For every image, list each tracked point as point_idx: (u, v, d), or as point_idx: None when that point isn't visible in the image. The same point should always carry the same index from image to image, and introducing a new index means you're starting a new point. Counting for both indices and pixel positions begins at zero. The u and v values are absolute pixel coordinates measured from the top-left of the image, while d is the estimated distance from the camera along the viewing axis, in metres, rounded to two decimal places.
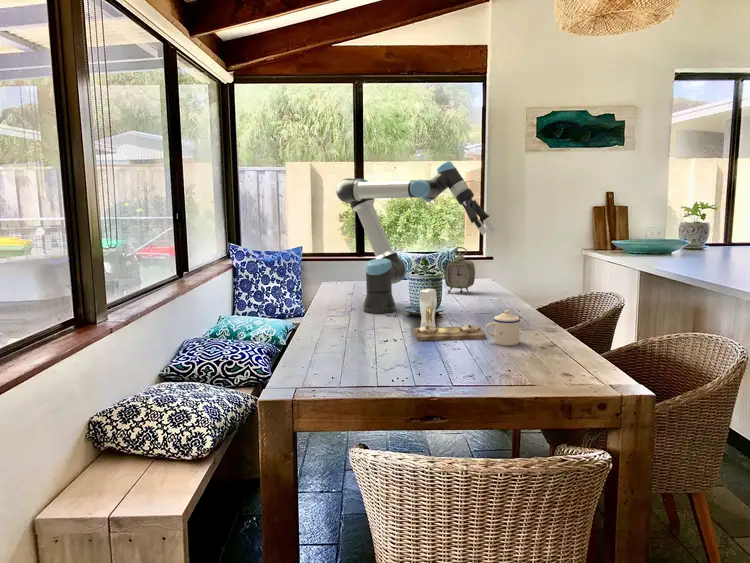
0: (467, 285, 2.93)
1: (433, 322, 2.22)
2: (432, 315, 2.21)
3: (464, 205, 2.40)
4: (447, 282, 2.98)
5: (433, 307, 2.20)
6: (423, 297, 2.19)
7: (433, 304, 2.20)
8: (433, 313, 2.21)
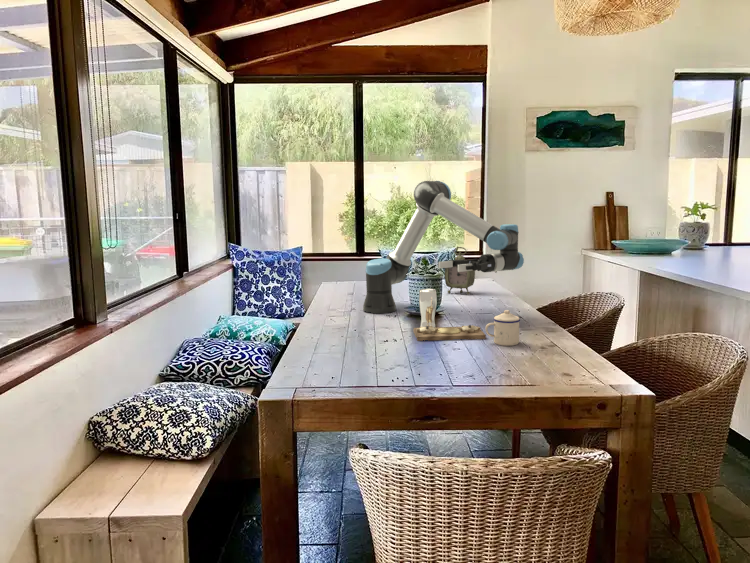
0: (467, 285, 2.93)
1: (433, 322, 2.22)
2: (432, 315, 2.21)
3: (488, 264, 2.25)
4: (447, 282, 2.98)
5: (433, 307, 2.20)
6: (423, 297, 2.19)
7: (433, 304, 2.20)
8: (433, 313, 2.21)
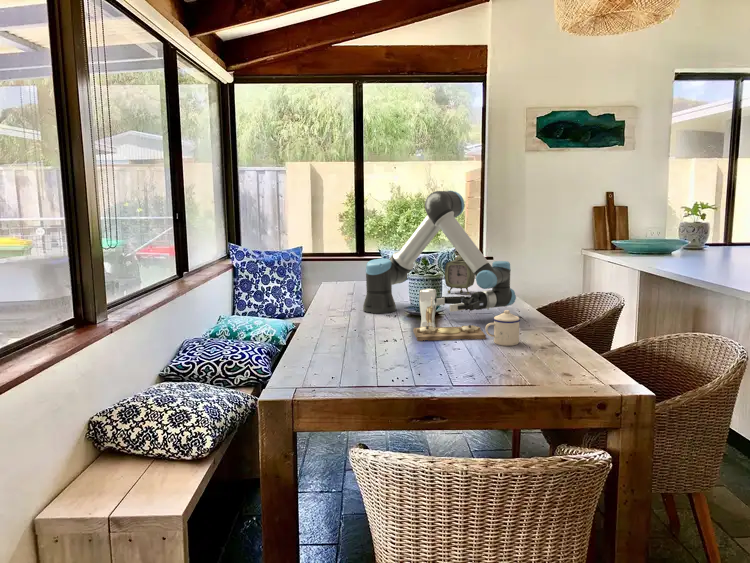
0: (467, 285, 2.93)
1: (433, 322, 2.22)
2: (432, 315, 2.21)
3: (480, 303, 2.25)
4: (447, 282, 2.98)
5: (433, 307, 2.20)
6: (423, 297, 2.19)
7: (433, 304, 2.20)
8: (433, 313, 2.21)
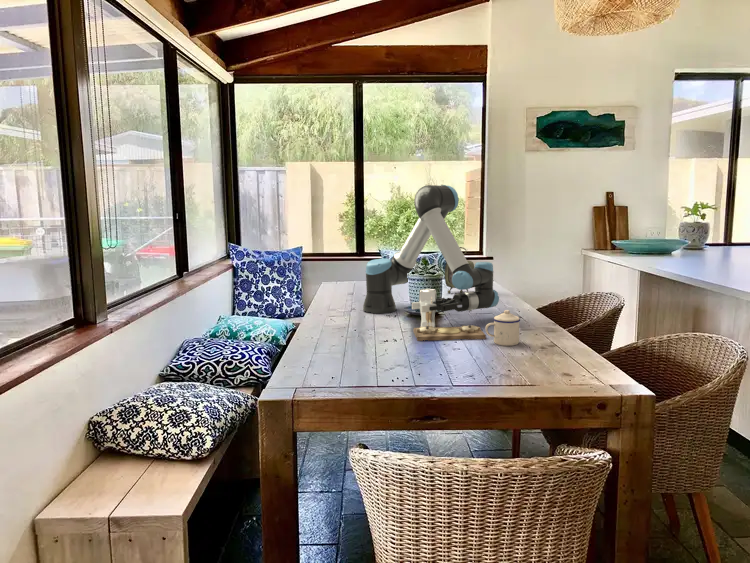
0: None
1: (433, 322, 2.22)
2: (432, 315, 2.21)
3: (458, 304, 2.21)
4: (447, 282, 2.98)
5: None
6: (423, 297, 2.19)
7: None
8: (433, 313, 2.21)
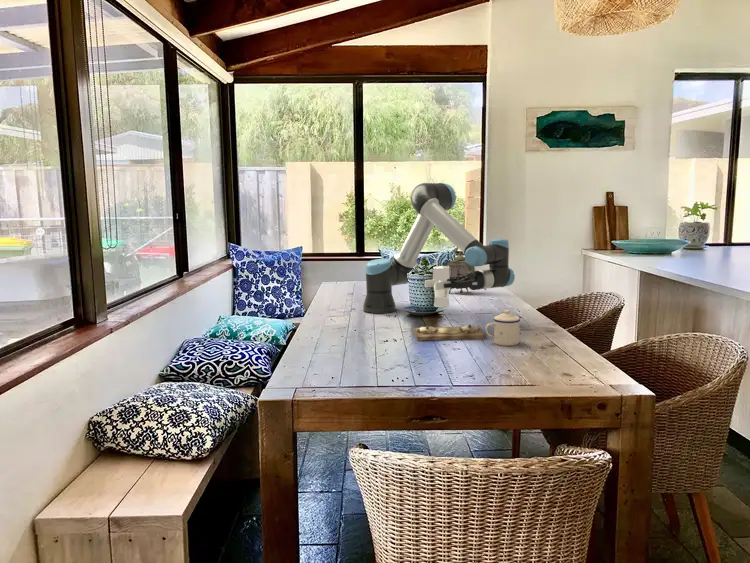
0: None
1: (447, 300, 2.12)
2: (446, 293, 2.11)
3: (473, 282, 2.12)
4: None
5: None
6: (437, 274, 2.10)
7: None
8: (447, 291, 2.11)
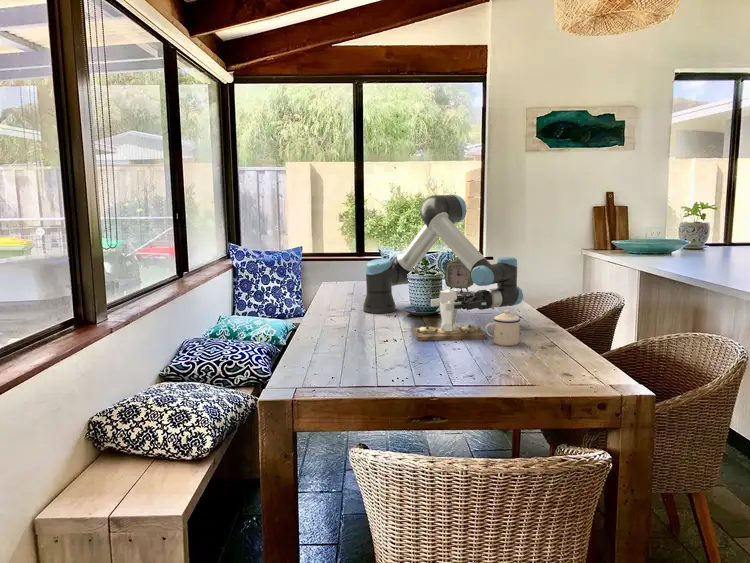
0: (467, 285, 2.93)
1: (454, 325, 2.08)
2: (453, 317, 2.07)
3: (483, 302, 2.07)
4: (447, 282, 2.98)
5: None
6: (444, 298, 2.06)
7: None
8: (454, 315, 2.07)
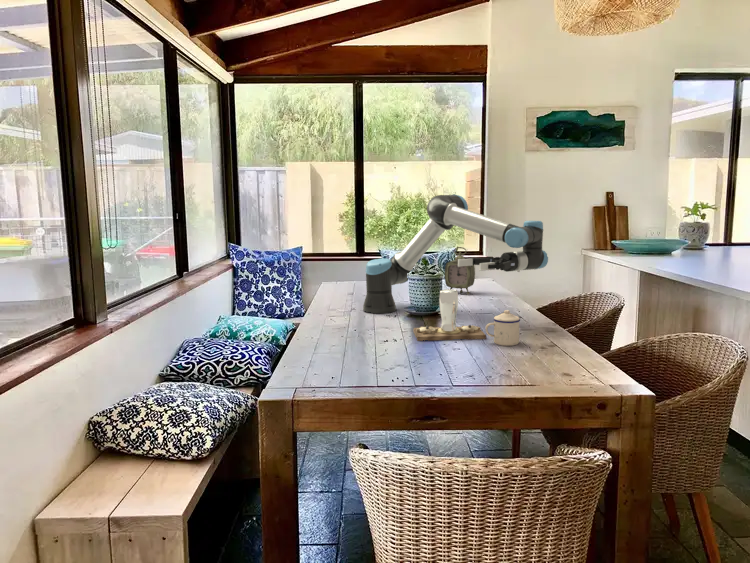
0: (467, 285, 2.93)
1: (454, 325, 2.08)
2: (453, 317, 2.07)
3: (512, 263, 2.11)
4: (447, 282, 2.98)
5: (454, 309, 2.06)
6: (444, 298, 2.06)
7: (455, 306, 2.06)
8: (454, 315, 2.07)
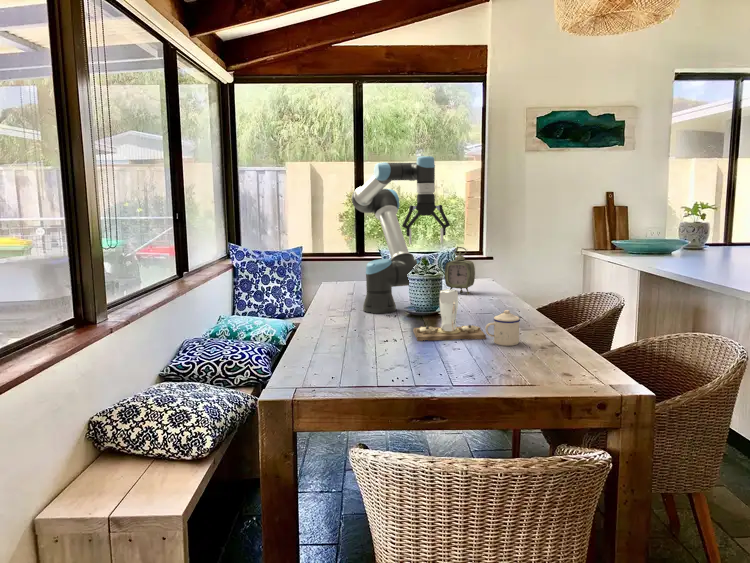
0: (467, 285, 2.93)
1: (454, 325, 2.08)
2: (453, 317, 2.07)
3: (409, 208, 2.38)
4: (447, 282, 2.98)
5: (454, 309, 2.06)
6: (444, 298, 2.06)
7: (455, 306, 2.06)
8: (454, 315, 2.07)
